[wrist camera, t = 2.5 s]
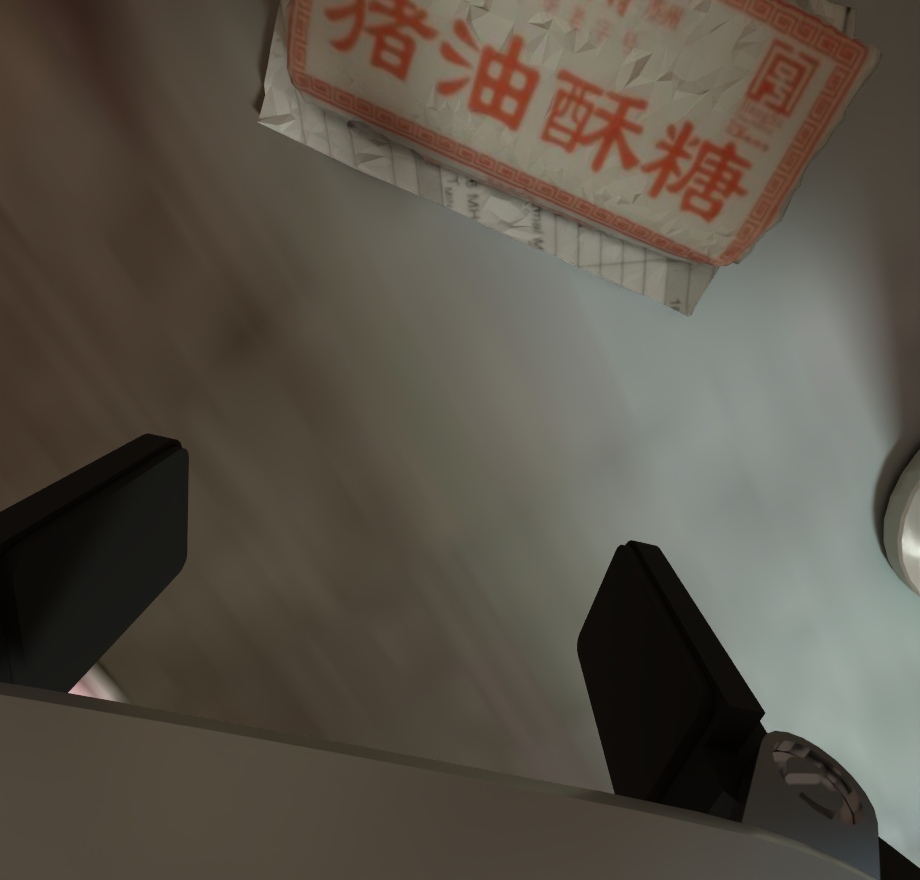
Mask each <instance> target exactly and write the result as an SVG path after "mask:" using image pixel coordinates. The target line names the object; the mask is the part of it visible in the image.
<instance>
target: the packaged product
mask: <svg viewBox="0 0 920 880" xmlns="http://www.w3.org/2000/svg"><path fill="white" fill-rule="evenodd" d="M855 21H856V9H853V8H850V7H846V6H842V5H838V4H834V3H830V2H828V1H827V0H280V3H279V8H278V12H277V17H276V22H275V28H274V33H273V39H272V44H271V49H270V55H269V62H268V67H267V72H266V77H265V82H264V88H265V98H264V102H263V106H262V109H261V113H260V117H259V121H257V122H258V123H260V124H262V125H265V126H267V127H269V128H271V129H273V130H275V131H277V132H279V133H282V134H284V135H286V136H288V137H290V138H292V139H294V140H296V141H298V142H301V143H303V144H305V145H307V146H309V147H311V148H313V149H315V150H317V151H319V152H321V153H323V154H325V155H327V156H329V157H332V158H334V159H336V160H338V161H340V162H342V163H344V164H346V165H348V166H350V167H352V168H354V169H356V170H358V171H361V172H363V173H365V174H368V175H370V176H373V177H375V178H378V179H380V180H383V181H385V182H388V183H390V184H393V185H395V186H397V187H400V188H402V189H404V190H407V191H409V192H411V193H414V194H416V195H419V196H421V197H423V198H426V199H428V200H430V201H433V202H435V203H437V204H440V205H442V206H444V207H447V208H449V209H452V210H454V211H456V212H459V213H461V214H463V215H466V216H468V217H470V218H472V219H473V220H475V221H477V222H479V223H481V224H483V225H485V226H487V227H490V228H492V229H494V230H496V231H498V232H500V233H502V234H504V235H506V236H508V237H510V238H513V239H515V240H518V241H520V242H523V243H527V244H528V245H529V246H531V247H534V248H536V249H539V250H542V251H545V252H548V253H551V254H553V255H556V256H558V257H559V258H561V259H562V260H564V261H565V262H567V263H569V264H571V265H574V266H576V267H578V268H580V269H582V270H585V271H587V272H589V273H591V274H593V275H596V276H598V277H600V278H602V279H604V280H607V281H609V282H611V283H614V284H616V285H619V286H621V287H624V288H627V289H629V290H632V291H635V292H637V293H640V294H643V295H645V296H648V297H650V298H652V299H654V300H656V301H658V302H660V303H662V304H664V305H666V306H668V307H670V308H672V309H674V310H676V311H678V312H680V313H682V314H684V315H686V316H690V315H692V312H693V310H694V308H695V306H696V305H697V303H698V301H699V300H700V298H701V296H702V295H703V293H704V292H705V290H706V288H707V287H708V285H709V284H710V282H711V280H712V279H713V277H714V275H715V274H716V272H717V270H718V268H719V267H720V266H727V265H729V264H731V263H736V264H739V263H740V262H741V261H742V260H743V259H744V258H745V257H747V256H748V255H749V254H750V253H751V251H752V249H753V248H754V246H755V244H756V243H757V242H758V241H759V239H760V238H761V237H762V236H763V235H764V234H765V233H766V232H767V231H768V230H770V229H771V228H772V227H774V226H775V225H776V224H778V223H779V222H780V221H781V220H782V218H783V216H784V214H785V211H786V209H787V207H788V205H789V203H790V201H791V198H792V196H793V193H794V192H795V191H796V190H797V189H798V188H799V187H800V184H801V180H802V176H803V173H804V171H805V169H806V168H807V166H808V164H809V162H810V161H811V160H812V159H813V158H814V156H815V155H816V154H817V153H818V152H819V151H820V150H821V149H822V148H823V146H824V145H825V144H826V142H827V141H828V139H829V138H830V136H831V135H832V133H833V132H834V130H835V129H836V128H837V127H838V126H839V125H840V124H841V122H842V121H843V120H844V116H845V112H846V109H847V107H848V105H849V104H850V102H851V101H852V99H853V98H854V96H855V95H856V93H857V92H858V91H859V89H860V88H861V87H862V86H863V85H864V83H865V82H866V81H867V79H868V78H869V77H870V75H871V74H872V73H873V72H874V70H875V69H876V68H877V66H878V64H879V61H880V59H881V57H882V54H881V52H880V50H879V49H878V47H877V46H876V45H872V44H867V43H864V42H862V41H861V40H859V39H854V30H855Z"/></svg>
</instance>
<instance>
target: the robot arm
mask: <svg viewBox="0 0 920 880" xmlns="http://www.w3.org/2000/svg"><path fill="white" fill-rule="evenodd" d="M188 471H189V455H188V451H187V450H186V449H184V448H182V446H181V443H180V442H179V441H178V440H176V439H171V438H167V437H162V436H158V435H153V434H144V435H142V436H140V437H138V438H137V439H135V440H133V441H131V442H129V443H127V444H125V445H124V446H122V447H120V448H118V449H116V450H114V451H112V452H111V453H109V454H107V455H105V456H103V457H101V458H99V459H98V460H96V461H94V462H92V463H90V464H88V465H86V466H85V467H83V468H81V469H79V470H77V471H75V472H74V473H72V474H70V475H68V476H66V477H64V478H62V479H61V480H59V481H57V482H55V483H53V484H51V485H49V486H48V487H46V488H44V489H42V490H40V491H38V492H36V493H35V494H33V495H31V496H29V497H27V498H25V499H23V500H22V501H20V502H18V503H16V504H14V505H12V506H10V507H9V508H7V509H5V510H3V511H1V512H0V880H920V868H919V867H917V866H916V865H915V864H913V863H912V862H911V861H910V860H908V859H907V858H906V857H904V856H903V855H902V854H900V853H899V852H898V851H897V850H895V849H894V848H893V847H891V846H890V845H889V844H887V843H886V842H885V841H884V840H882V839H881V838H880V837H878V822H877V818H876V814H875V810H874V808H873V806H872V804H871V802H870V801H869V799H868V797H867V795H866V793H865V792H864V791H863V789H862V788H861V787H860V785H859V784H858V783H857V782H856V780H855V779H854V778H853V777H852V775H850V774H849V773H848V772H847V771H846V770H845V769H844V768H843V767H842V766H841V765H840V764H839V763H838V762H837V761H836V760H835V759H833V758H832V757H831V756H830V755H828V754H827V753H826V752H824V751H823V750H822V749H820V748H819V747H817V746H816V745H814V744H812V743H810V742H809V741H807V740H805V739H804V738H801V737H799V736H796V735H793V734H791V733H788V732H780V731H774V732H771V733H767V732H766V730H765V729H764V727H763V726H762V724H761V722H760V720H761V719H762V717H763V716H764V714H765V712H764V710H763V709H762V707H761V705H760V704H759V702H758V701H757V699H756V698H755V696H754V694H753V693H752V691H751V690H750V688H749V687H748V685H747V684H746V682H745V680H744V679H743V677H742V676H741V674H740V673H739V671H738V670H737V668H736V666H735V665H734V663H733V662H732V660H731V659H730V657H729V656H728V654H727V652H726V651H725V649H724V648H723V646H722V645H721V643H720V642H719V640H718V638H717V637H716V635H715V634H714V632H713V631H712V629H711V628H710V626H709V624H708V623H707V621H706V620H705V618H704V617H703V615H702V614H701V612H700V610H699V609H698V607H697V606H696V604H695V603H694V601H693V599H692V598H691V596H690V595H689V593H688V592H687V590H686V589H685V587H684V585H683V584H682V582H681V581H680V579H679V578H678V576H677V575H676V573H675V571H674V570H673V568H672V567H671V565H670V564H669V562H668V561H667V559H666V557H665V556H664V554H663V553H662V551H661V550H660V548H659V547H658V546H655V545H651V544H646V543H642V542H637V541H632V540H631V541H628V542H627V543H626V545H620V546H619V547H618V548H617V550H616V551H615V554H614V556H613V558H612V561H611V563H610V565H609V568H608V570H607V572H606V574H605V577H604V579H603V581H602V584H601V586H600V588H599V591H598V593H597V595H596V597H595V600H594V602H593V604H592V607H591V609H590V611H589V613H588V616H587V618H586V620H585V623H584V625H583V627H582V630H581V632H580V634H579V637H578V642H577V652H578V657H579V660H580V664H581V668H582V672H583V676H584V679H585V683H586V687H587V691H588V694H589V698H590V702H591V706H592V710H593V713H594V717H595V721H596V725H597V728H598V732H599V736H600V740H601V744H602V747H603V751H604V755H605V759H606V762H607V766H608V770H609V774H610V778H611V781H612V785H613V789H614V793H615V794H611V793H606V792H601V791H596V790H591V789H585V788H580V787H575V786H570V785H564V784H559V783H554V782H549V781H544V780H538V779H533V778H528V777H523V776H517V775H512V774H507V773H502V772H496V771H491V770H486V769H481V768H475V767H470V766H465V765H460V764H455V763H449V762H444V761H439V760H433V759H428V758H423V757H417V756H412V755H406V754H401V753H396V752H390V751H385V750H379V749H374V748H369V747H363V746H358V745H353V744H347V743H342V742H336V741H331V740H325V739H320V738H315V737H309V736H304V735H298V734H293V733H287V732H282V731H276V730H271V729H266V728H260V727H255V726H249V725H244V724H238V723H233V722H227V721H221V720H216V719H210V718H205V717H199V716H193V715H188V714H182V713H177V712H171V711H165V710H160V709H154V708H149V707H143V706H137V705H132V704H126V703H121V702H115V701H109V700H104V699H98V698H93V697H87V696H81V695H76V694H70V693H68V692H69V691H70V690H71V689H72V688H73V687H74V686H75V685H76V683H77V682H78V681H79V680H80V679H81V678H82V677H83V676H84V675H85V674H86V673H87V672H88V671H89V669H90V668H91V667H92V666H93V665H94V664H95V663H96V662H97V661H98V660H99V659H100V658H101V657H102V655H103V654H104V653H105V652H106V651H107V650H108V649H109V648H110V647H111V646H112V645H113V644H114V643H115V641H116V640H117V639H118V638H119V637H120V636H121V635H122V634H123V633H124V632H125V631H126V630H127V629H128V628H129V626H130V625H131V624H132V623H133V622H134V621H135V620H136V619H137V618H138V617H139V616H140V615H141V614H142V612H143V611H144V610H145V609H146V608H147V607H148V606H149V605H150V604H151V603H152V602H153V601H154V600H155V598H156V597H157V596H158V595H159V594H160V593H161V592H162V591H163V590H164V589H165V588H166V587H167V586H168V584H169V583H170V582H171V581H172V580H173V579H174V578H175V577H176V576H177V575H178V574H179V572H180V571H181V570H182V568H183V566H184V564H185V562H186V558H187V529H188ZM884 545H885V549H886V553H887V557H888V561H889V562H890V564H891V566H892V568H893V569H894V571H895V573H896V575H897V576H898V578H899V579H900V580H901V581H902V582H903V583H904V584H905V585H906V586H907V587H908V588H910V589H911V590H912V591H913V592H914V593H916V594H917V595H918V596H920V449H919V450H918V452H917V453H916V454H915V456H914V457H913V458H912V460H911V461H910V463H909V464H908V465H907V467H906V468H905V469H904V471H903V472H902V474H901V476H900V478H899V480H898V482H897V484H896V486H895V488H894V490H893V492H892V494H891V496H890V499H889V503H888V507H887V511H886V515H885V518H884Z"/></svg>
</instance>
